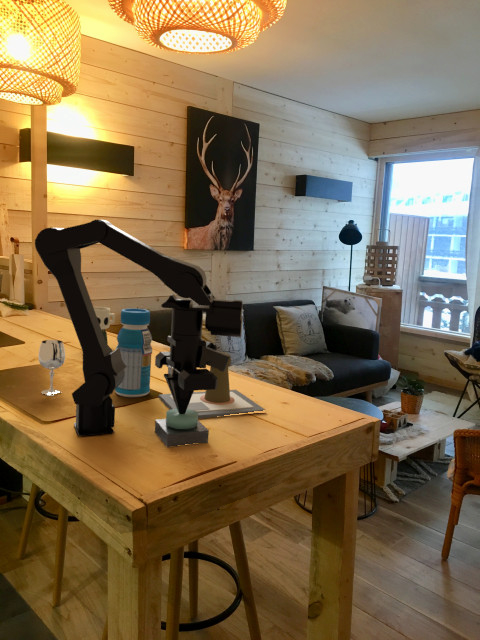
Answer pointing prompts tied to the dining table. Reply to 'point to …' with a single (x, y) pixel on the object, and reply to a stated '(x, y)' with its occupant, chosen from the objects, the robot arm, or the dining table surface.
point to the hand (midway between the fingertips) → (181, 413)
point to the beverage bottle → (135, 352)
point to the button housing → (180, 434)
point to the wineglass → (51, 359)
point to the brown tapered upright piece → (220, 385)
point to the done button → (181, 419)
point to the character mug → (104, 319)
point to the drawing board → (215, 404)
